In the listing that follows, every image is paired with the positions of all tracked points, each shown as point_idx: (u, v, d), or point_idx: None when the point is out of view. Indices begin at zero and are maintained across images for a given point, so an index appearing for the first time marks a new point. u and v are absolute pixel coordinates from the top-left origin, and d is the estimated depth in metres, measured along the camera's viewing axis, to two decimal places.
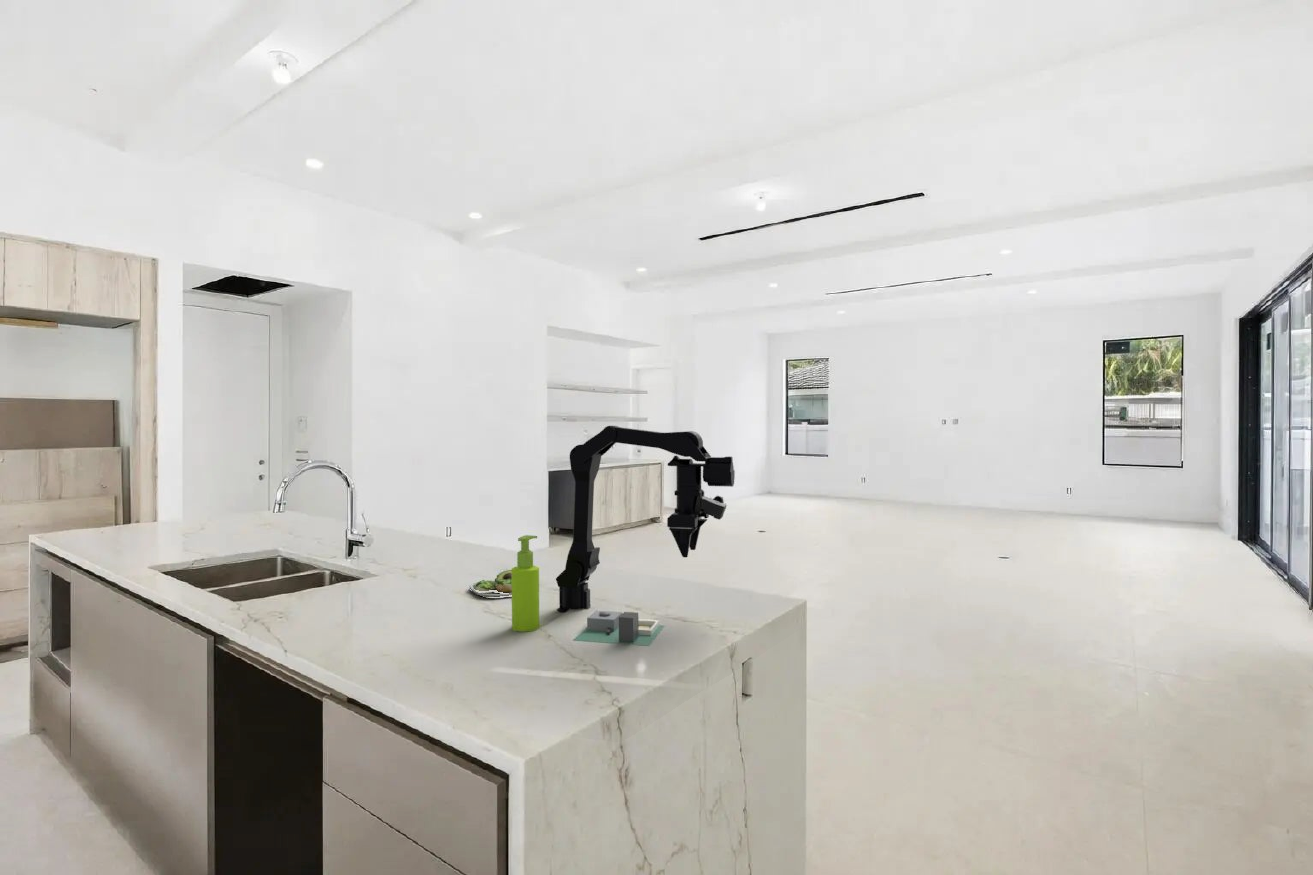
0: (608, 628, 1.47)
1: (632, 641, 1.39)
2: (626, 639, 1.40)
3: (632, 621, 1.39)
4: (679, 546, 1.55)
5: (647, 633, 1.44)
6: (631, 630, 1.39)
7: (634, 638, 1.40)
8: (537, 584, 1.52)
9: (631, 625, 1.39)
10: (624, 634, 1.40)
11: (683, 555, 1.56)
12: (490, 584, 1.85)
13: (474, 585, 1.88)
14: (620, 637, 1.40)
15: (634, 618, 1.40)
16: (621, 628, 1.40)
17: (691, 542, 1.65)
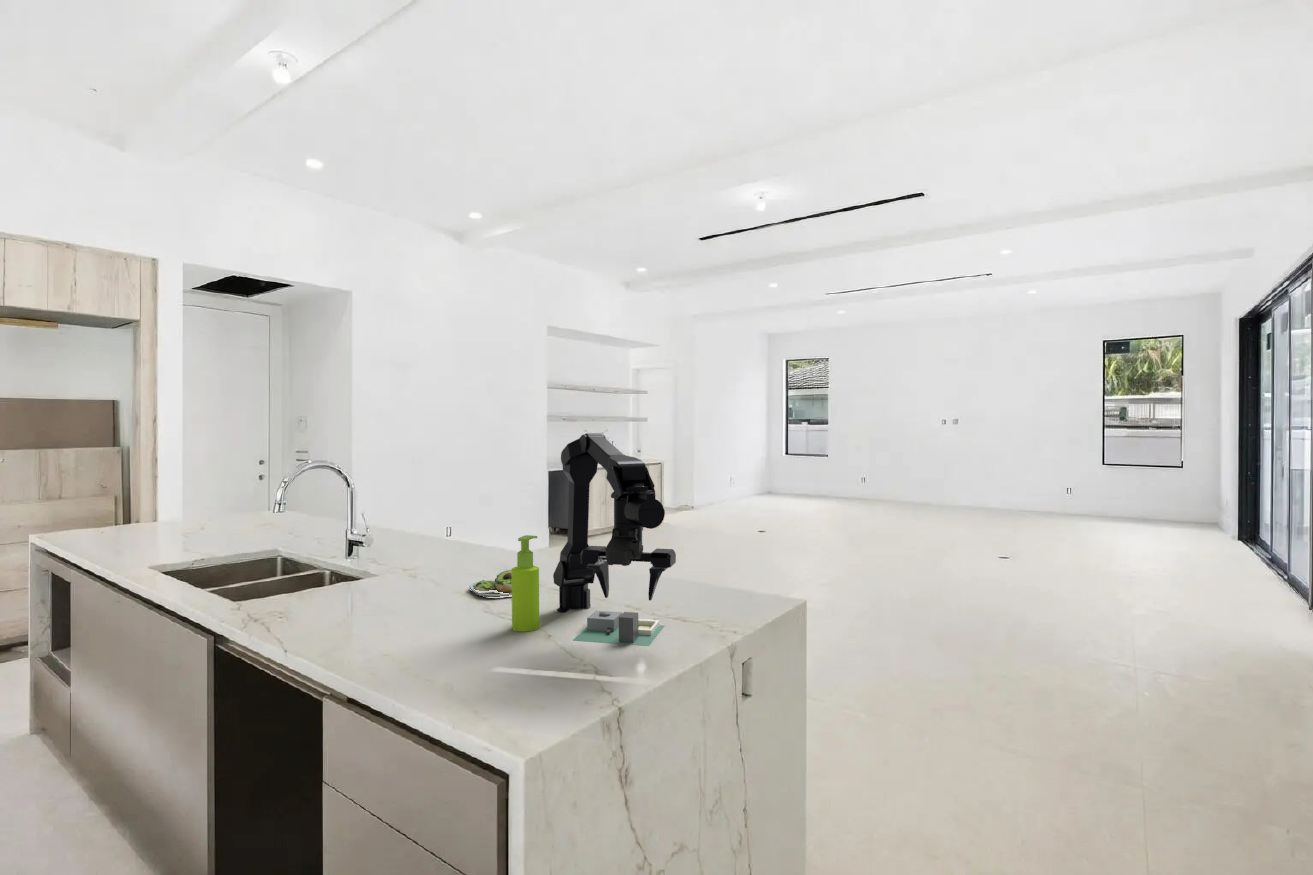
0: (608, 628, 1.47)
1: (632, 641, 1.39)
2: (626, 639, 1.40)
3: (632, 621, 1.39)
4: None
5: (647, 633, 1.44)
6: (631, 630, 1.39)
7: (634, 638, 1.40)
8: (537, 584, 1.52)
9: (631, 625, 1.39)
10: (624, 634, 1.40)
11: None
12: (490, 584, 1.85)
13: (474, 585, 1.88)
14: (620, 637, 1.40)
15: (634, 618, 1.40)
16: (621, 628, 1.40)
17: None
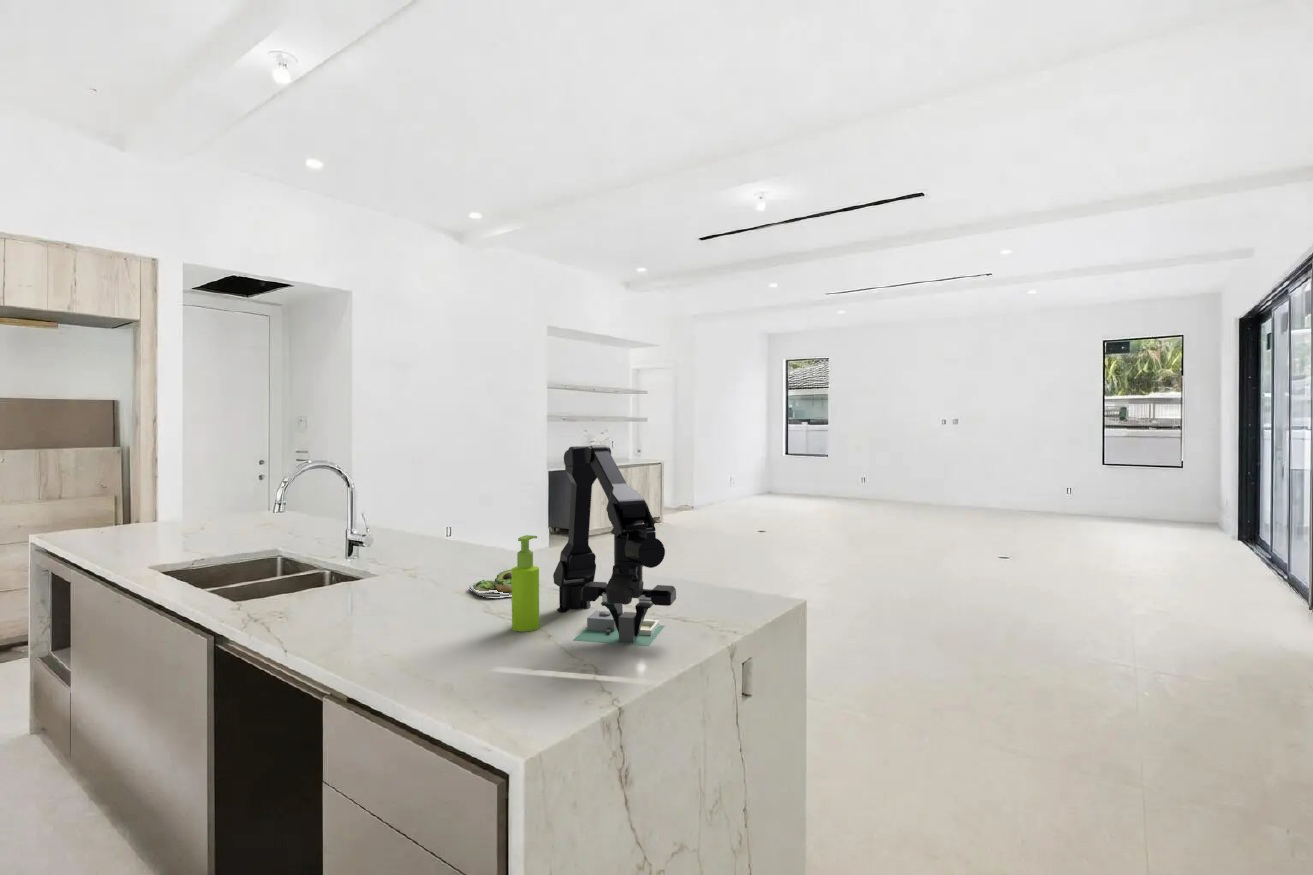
0: (608, 628, 1.47)
1: (632, 641, 1.39)
2: (626, 639, 1.40)
3: (632, 621, 1.39)
4: None
5: (647, 633, 1.44)
6: (631, 630, 1.39)
7: (634, 638, 1.40)
8: (537, 584, 1.52)
9: (631, 625, 1.39)
10: (624, 634, 1.40)
11: None
12: (490, 584, 1.85)
13: (474, 585, 1.88)
14: (620, 637, 1.40)
15: (634, 618, 1.40)
16: (621, 628, 1.40)
17: None
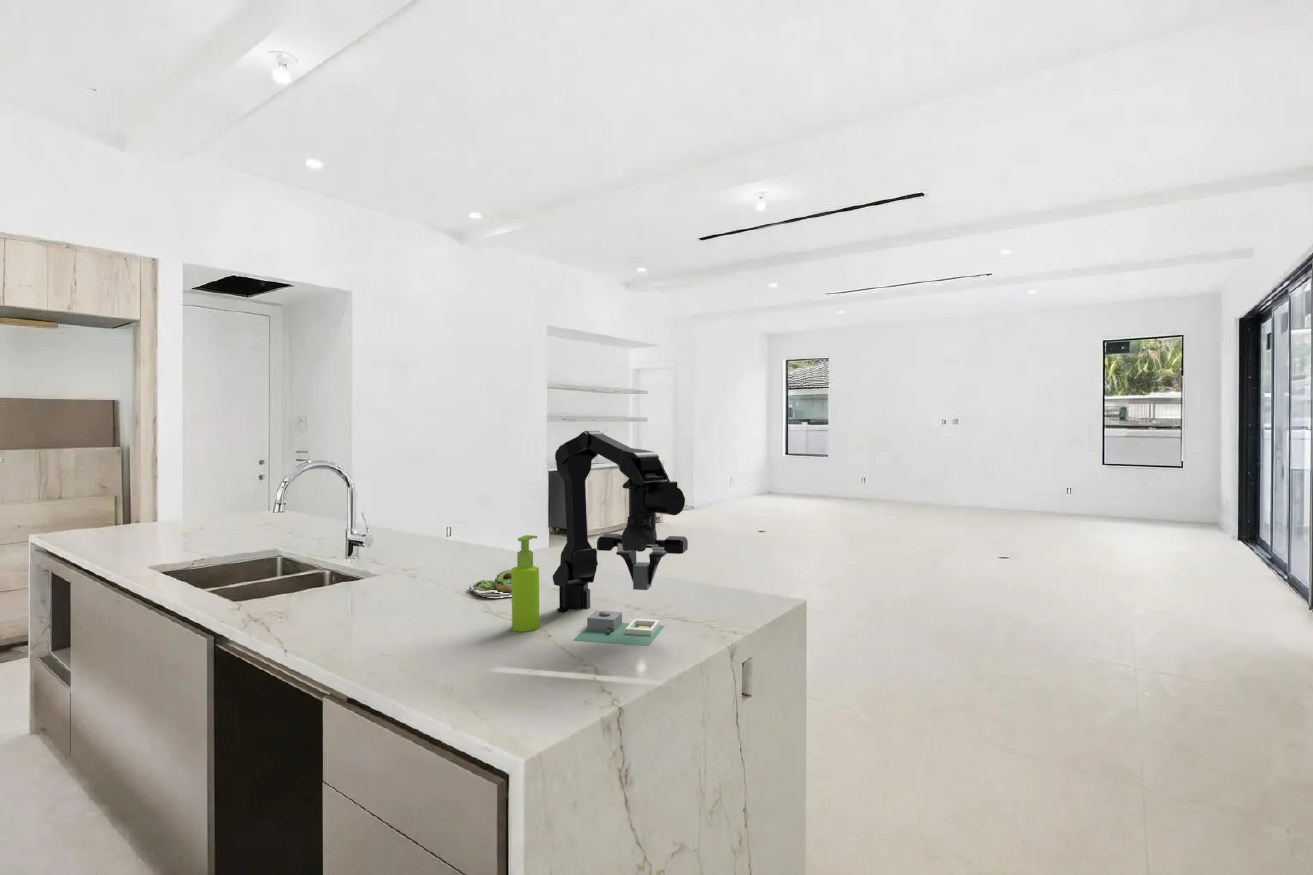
0: (608, 628, 1.47)
1: (646, 588, 1.46)
2: (640, 587, 1.46)
3: (646, 569, 1.46)
4: None
5: (647, 633, 1.44)
6: (645, 578, 1.46)
7: (648, 586, 1.47)
8: (537, 584, 1.52)
9: (645, 573, 1.46)
10: (638, 582, 1.47)
11: None
12: (490, 584, 1.85)
13: (474, 585, 1.88)
14: (634, 585, 1.47)
15: (648, 567, 1.47)
16: (635, 576, 1.47)
17: None
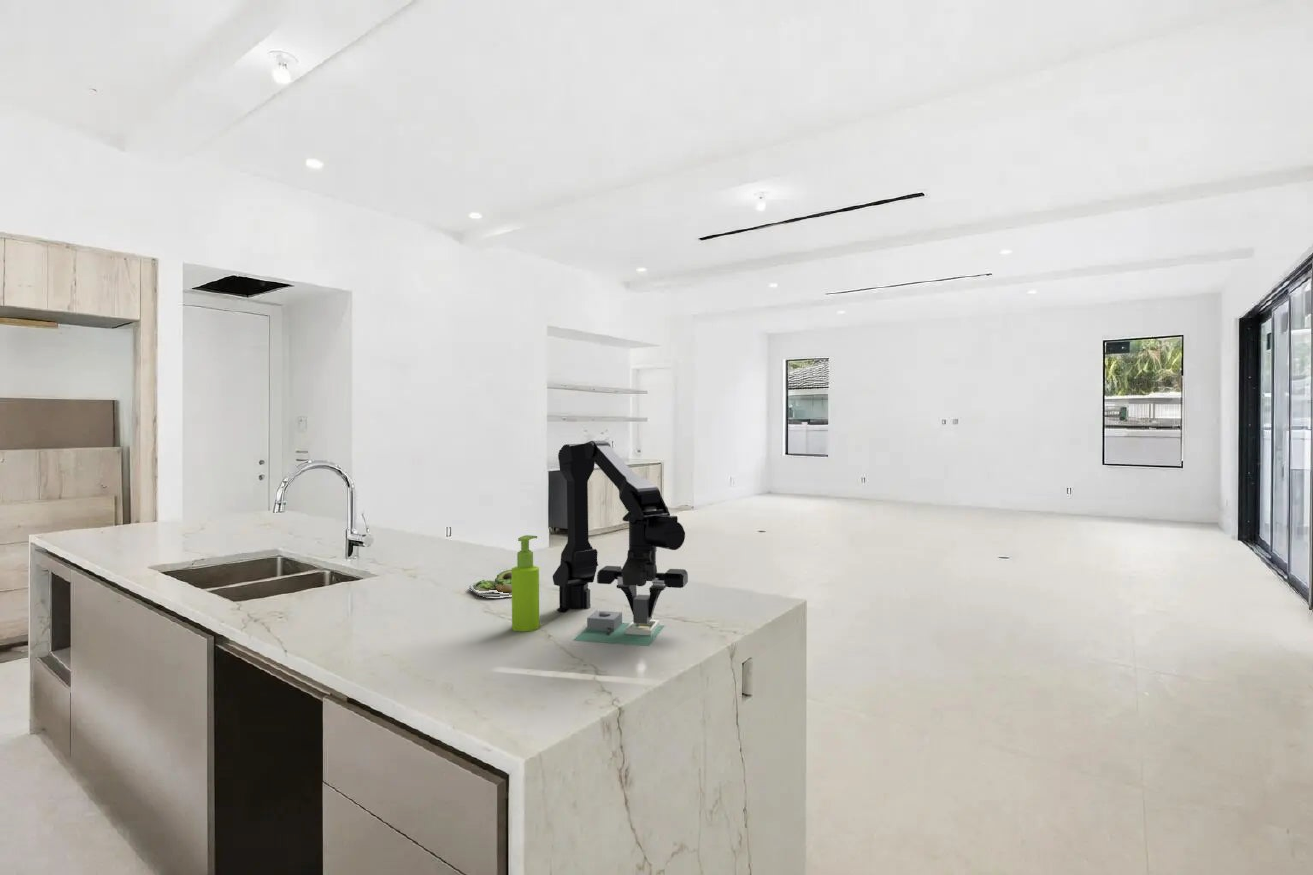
0: (608, 628, 1.47)
1: (646, 622, 1.46)
2: (640, 620, 1.47)
3: (646, 603, 1.46)
4: None
5: (647, 633, 1.44)
6: (645, 611, 1.46)
7: (648, 619, 1.47)
8: (537, 584, 1.52)
9: (645, 606, 1.46)
10: (638, 615, 1.47)
11: None
12: (490, 584, 1.85)
13: (474, 585, 1.88)
14: (634, 618, 1.47)
15: (648, 600, 1.47)
16: (635, 609, 1.47)
17: None
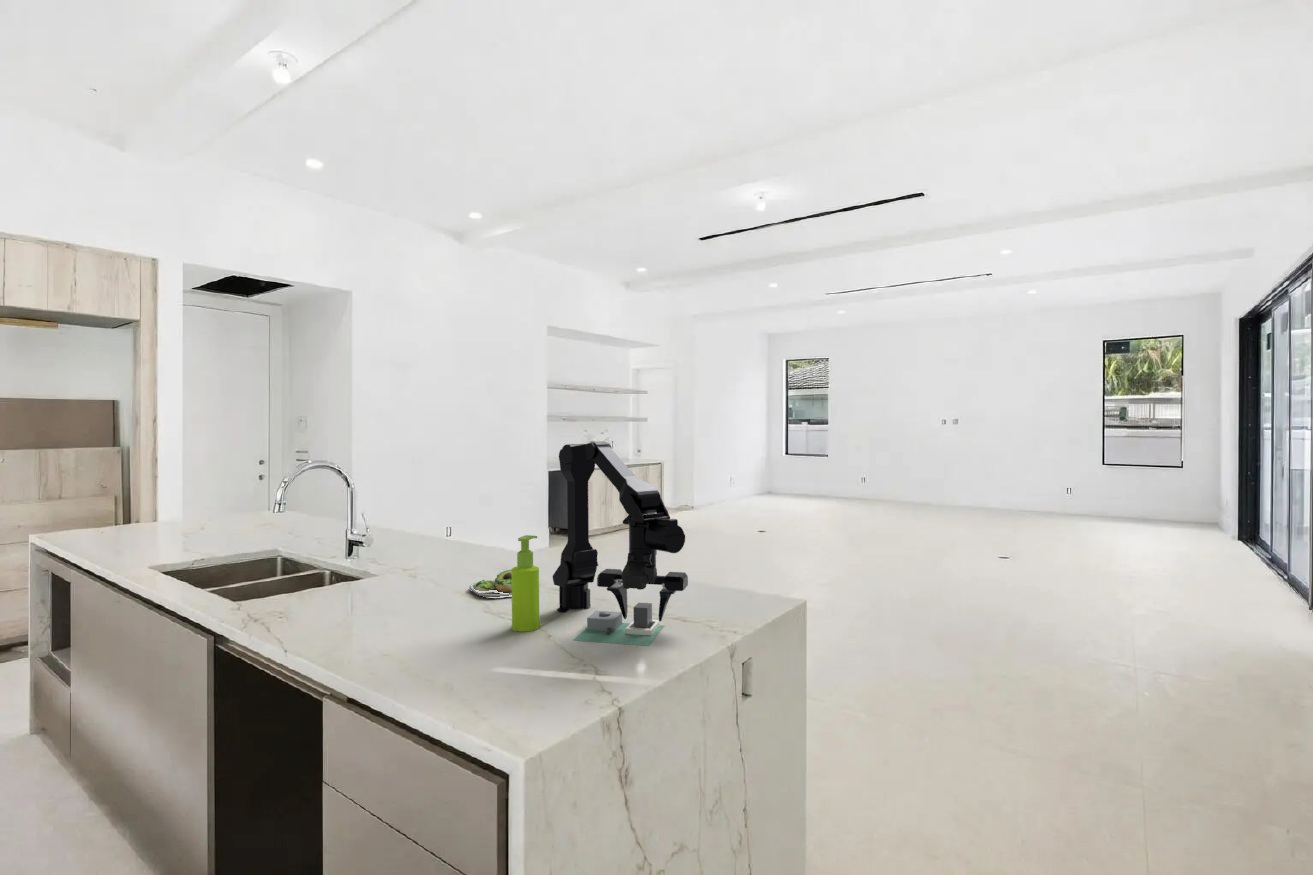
0: (608, 628, 1.47)
1: None
2: None
3: (646, 611, 1.46)
4: None
5: (647, 633, 1.44)
6: (645, 619, 1.46)
7: (648, 627, 1.47)
8: (537, 584, 1.52)
9: (645, 615, 1.46)
10: (639, 623, 1.47)
11: None
12: (490, 584, 1.85)
13: (475, 585, 1.88)
14: (635, 626, 1.47)
15: (648, 608, 1.47)
16: (636, 618, 1.47)
17: None
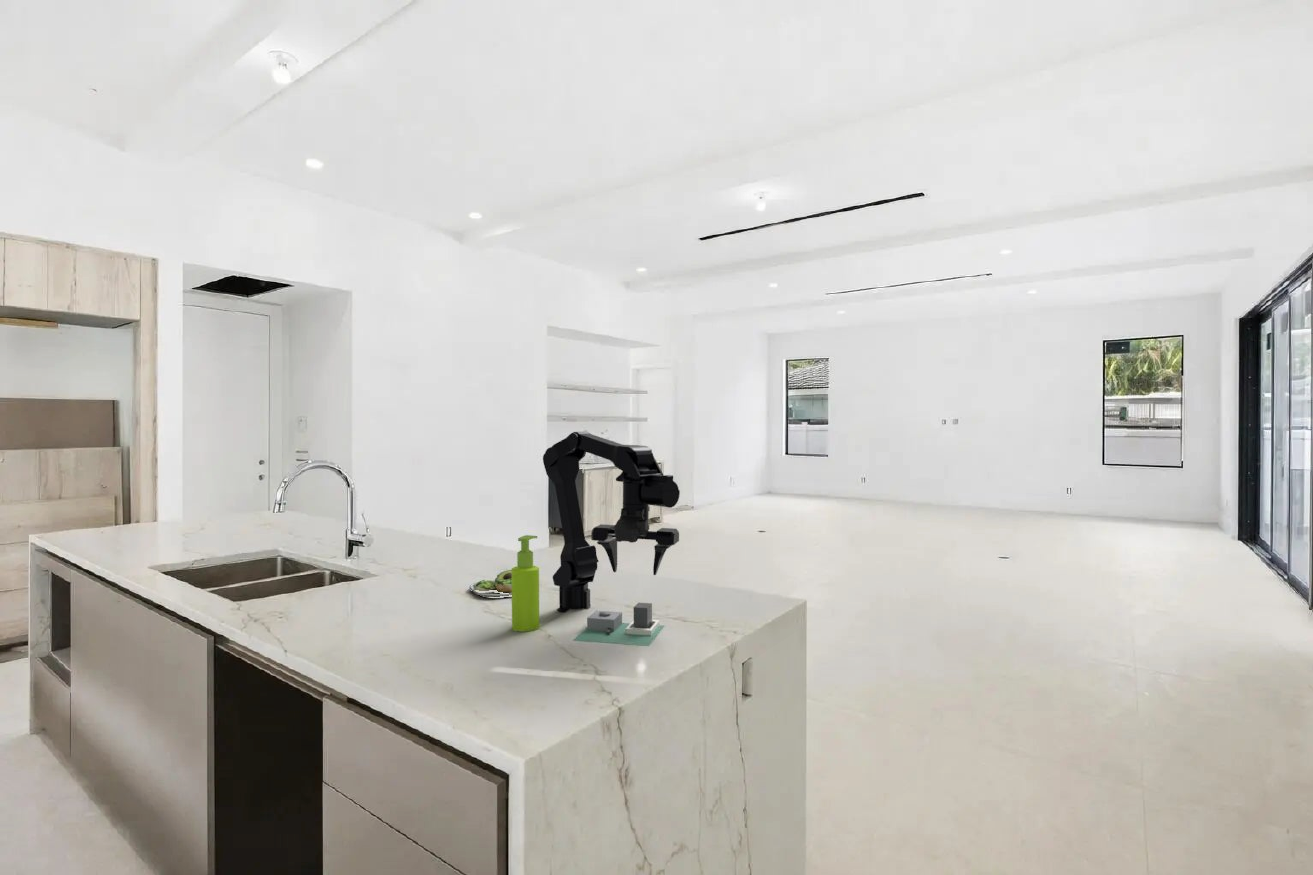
0: (608, 628, 1.47)
1: None
2: None
3: (646, 611, 1.46)
4: None
5: (647, 633, 1.44)
6: (645, 619, 1.46)
7: (648, 627, 1.47)
8: (537, 584, 1.52)
9: (645, 615, 1.46)
10: (639, 623, 1.47)
11: None
12: (490, 584, 1.85)
13: (475, 585, 1.88)
14: (635, 626, 1.47)
15: (648, 608, 1.47)
16: (636, 618, 1.47)
17: None
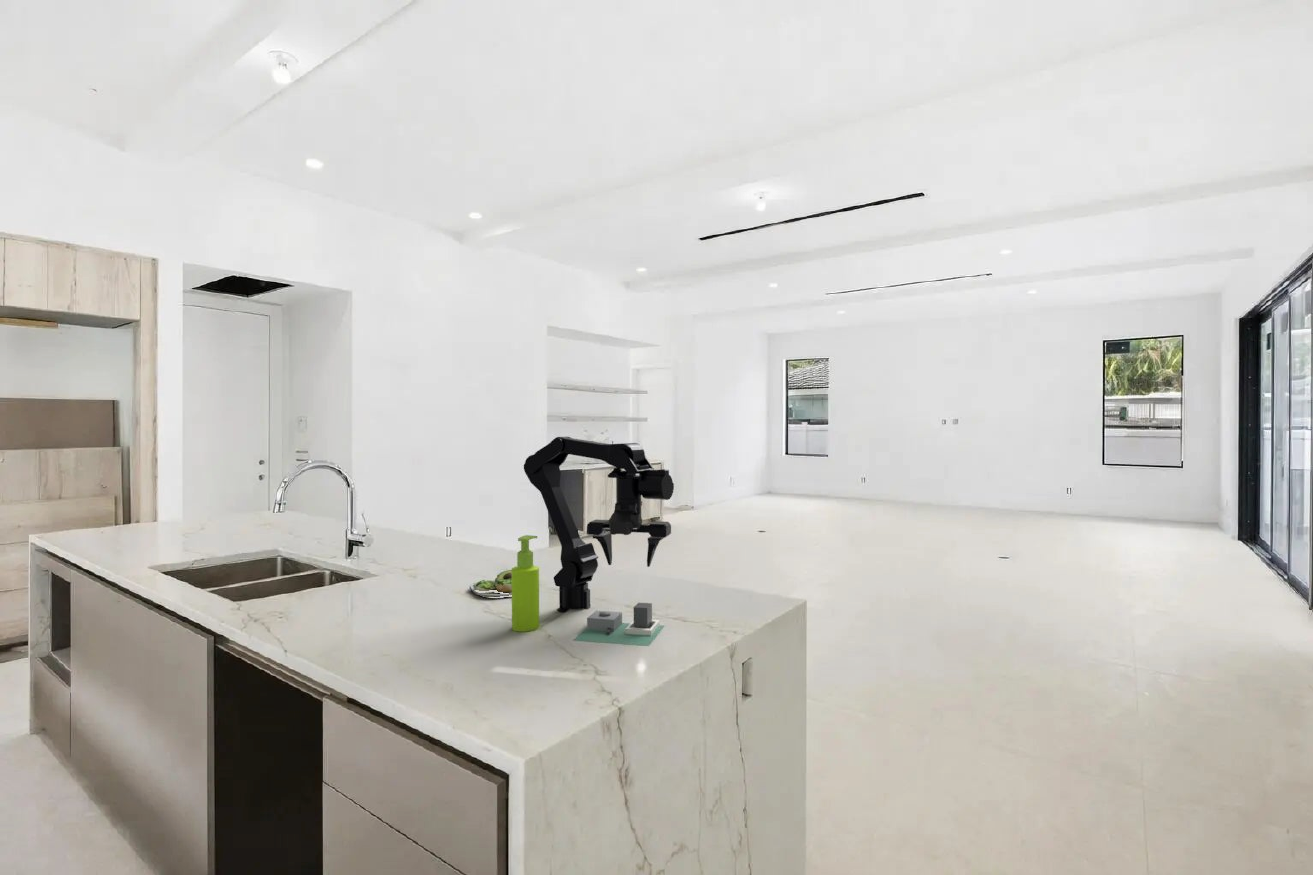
0: (608, 628, 1.47)
1: None
2: None
3: (646, 611, 1.46)
4: None
5: (647, 633, 1.44)
6: (645, 619, 1.46)
7: (648, 627, 1.47)
8: (537, 584, 1.52)
9: (645, 615, 1.46)
10: (639, 623, 1.47)
11: None
12: (490, 584, 1.85)
13: (475, 585, 1.88)
14: (635, 626, 1.47)
15: (648, 608, 1.47)
16: (636, 618, 1.47)
17: None
